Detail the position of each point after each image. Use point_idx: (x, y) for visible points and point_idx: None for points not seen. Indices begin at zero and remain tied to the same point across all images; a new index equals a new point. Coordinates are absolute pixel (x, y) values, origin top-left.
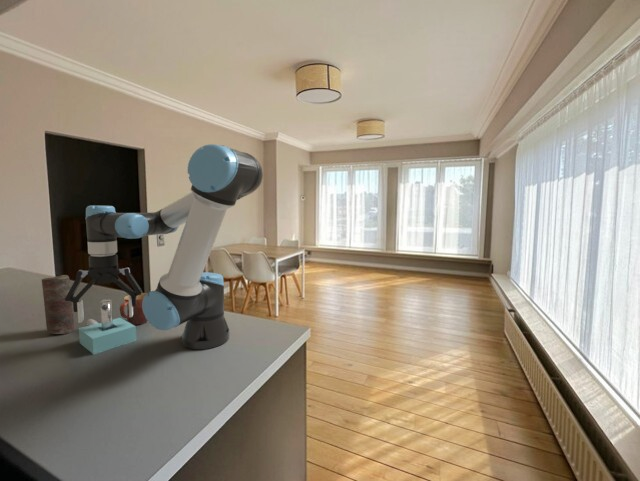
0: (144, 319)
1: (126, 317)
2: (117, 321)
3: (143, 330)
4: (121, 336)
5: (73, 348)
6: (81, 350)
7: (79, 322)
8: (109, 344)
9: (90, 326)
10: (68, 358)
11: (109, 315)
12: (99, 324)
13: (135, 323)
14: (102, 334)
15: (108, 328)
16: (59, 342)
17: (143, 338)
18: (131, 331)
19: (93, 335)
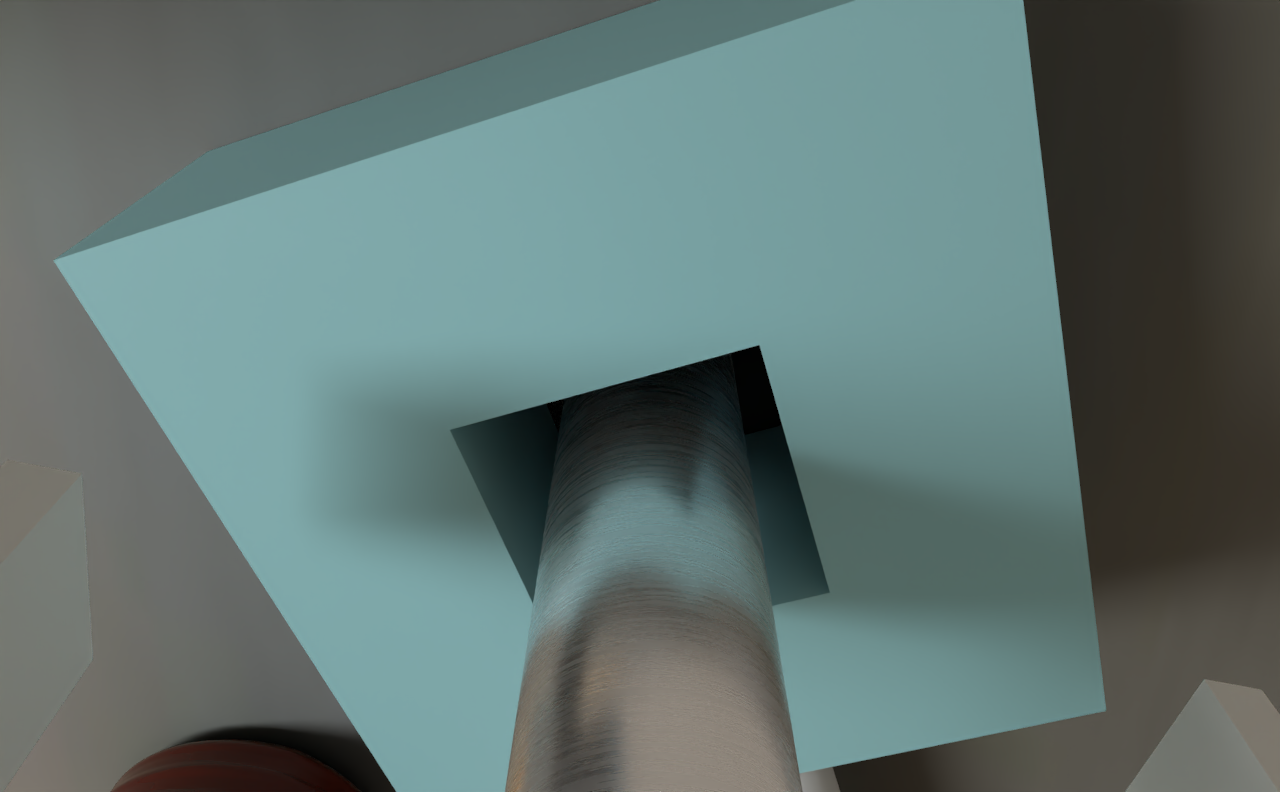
0: (128, 789)
1: None
2: (471, 707)
3: (147, 519)
4: (403, 117)
5: (1113, 384)
6: None
7: (1245, 690)
8: (641, 22)
9: (921, 700)
10: (1270, 8)
11: (583, 659)
12: None
13: (274, 758)
14: (776, 133)
15: (635, 425)
16: (1203, 670)
17: (94, 184)
18: (190, 192)
19: (958, 181)
